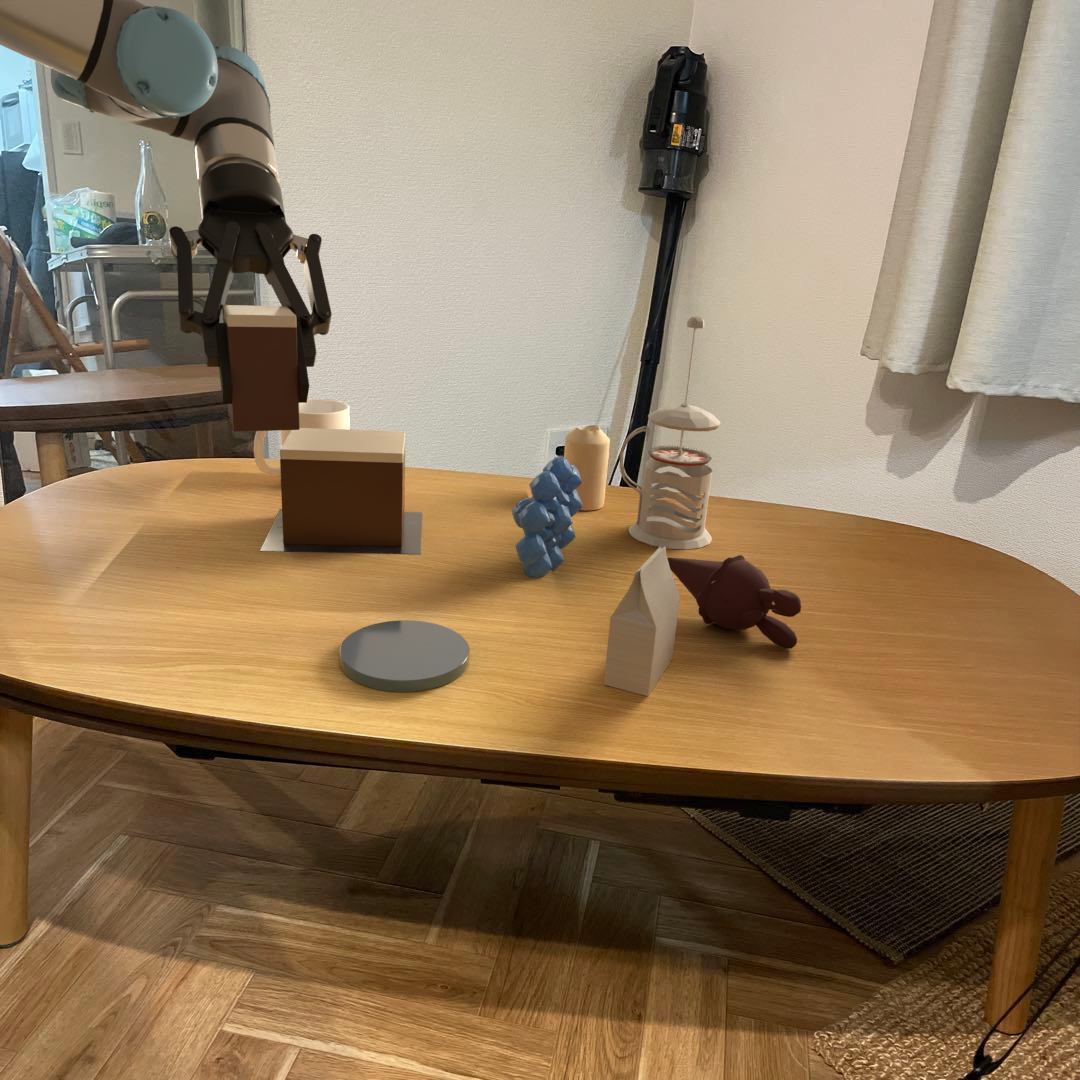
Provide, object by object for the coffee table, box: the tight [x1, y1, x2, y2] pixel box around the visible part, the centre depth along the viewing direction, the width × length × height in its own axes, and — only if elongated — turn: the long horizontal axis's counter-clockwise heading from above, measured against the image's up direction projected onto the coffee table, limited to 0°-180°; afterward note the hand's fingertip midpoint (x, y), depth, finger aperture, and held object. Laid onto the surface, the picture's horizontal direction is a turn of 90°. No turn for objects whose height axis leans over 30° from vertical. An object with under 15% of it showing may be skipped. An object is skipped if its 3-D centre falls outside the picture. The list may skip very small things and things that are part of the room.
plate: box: [338, 619, 470, 693], centre depth 73 cm, size 10×10×1 cm
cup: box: [253, 398, 351, 478], centre depth 111 cm, size 8×12×10 cm
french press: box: [619, 316, 721, 550], centre depth 101 cm, size 10×12×25 cm
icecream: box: [667, 554, 802, 650], centre depth 82 cm, size 7×7×15 cm
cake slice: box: [222, 304, 300, 433], centre depth 80 cm, size 6×6×10 cm
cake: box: [279, 428, 406, 546], centre depth 95 cm, size 12×9×10 cm
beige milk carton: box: [603, 546, 681, 697], centre depth 72 cm, size 4×7×10 cm, turn 156°
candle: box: [563, 424, 611, 511], centre depth 112 cm, size 6×6×10 cm
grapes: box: [511, 456, 583, 578], centre depth 90 cm, size 12×7×12 cm, turn 155°
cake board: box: [259, 508, 423, 555], centre depth 97 cm, size 16×13×1 cm
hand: (266, 394), depth 78 cm, fingers closed on cake slice, 6 cm apart
